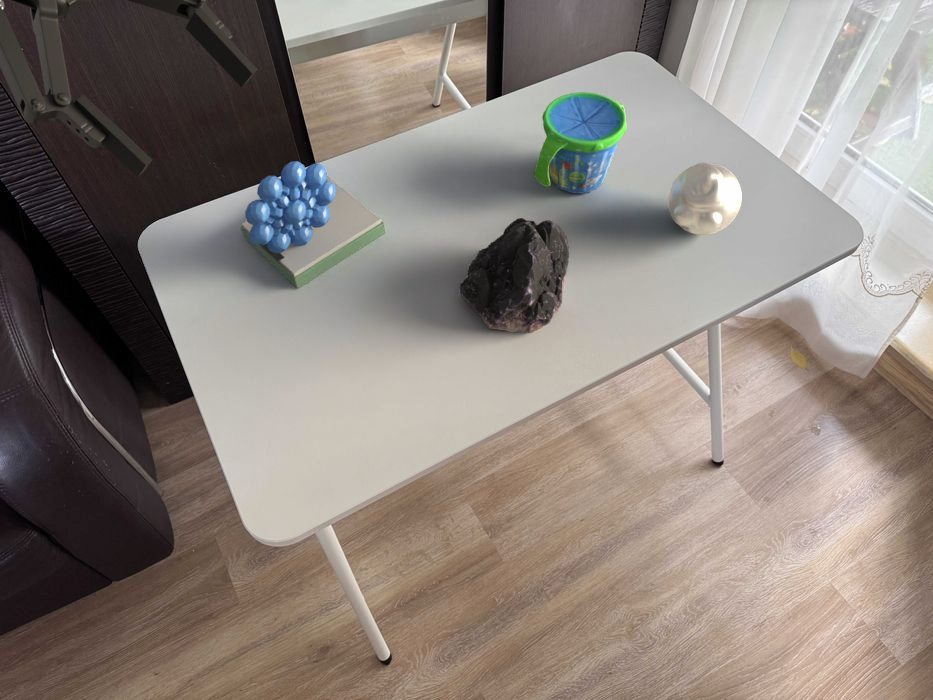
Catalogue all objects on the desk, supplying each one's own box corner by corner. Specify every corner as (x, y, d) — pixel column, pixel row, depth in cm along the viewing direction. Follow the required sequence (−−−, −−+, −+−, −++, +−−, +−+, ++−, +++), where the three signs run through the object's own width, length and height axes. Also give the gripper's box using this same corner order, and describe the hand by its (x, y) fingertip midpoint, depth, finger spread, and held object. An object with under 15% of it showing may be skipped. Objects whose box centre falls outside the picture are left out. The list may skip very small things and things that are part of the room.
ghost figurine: (644, 217, 94) (658, 156, 86) (701, 193, 97) (721, 132, 89) (686, 261, 90) (706, 201, 82) (746, 235, 92) (770, 174, 84)
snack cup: (560, 223, 94) (566, 162, 86) (509, 182, 99) (511, 120, 91) (644, 174, 99) (658, 111, 91) (592, 136, 104) (601, 74, 96)
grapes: (328, 208, 94) (313, 130, 84) (351, 239, 90) (338, 161, 81) (244, 240, 90) (218, 163, 81) (264, 273, 87) (240, 196, 77)
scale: (297, 289, 89) (292, 275, 87) (243, 236, 94) (237, 222, 92) (385, 233, 94) (383, 218, 92) (329, 186, 100) (326, 172, 98)
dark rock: (470, 348, 83) (477, 299, 75) (448, 259, 90) (452, 204, 82) (578, 334, 86) (597, 284, 77) (550, 247, 92) (564, 192, 84)
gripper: (89, -134, 62) (271, 65, 70) (-174, 3, 50) (84, 227, 57) (108, -199, 56) (303, 26, 64) (-185, -62, 44) (103, 197, 52)
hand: (200, 121), depth 61 cm, fingers open, 13 cm apart
